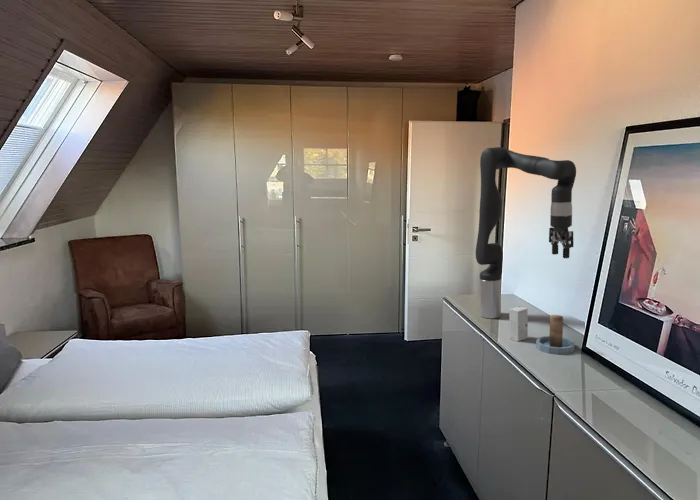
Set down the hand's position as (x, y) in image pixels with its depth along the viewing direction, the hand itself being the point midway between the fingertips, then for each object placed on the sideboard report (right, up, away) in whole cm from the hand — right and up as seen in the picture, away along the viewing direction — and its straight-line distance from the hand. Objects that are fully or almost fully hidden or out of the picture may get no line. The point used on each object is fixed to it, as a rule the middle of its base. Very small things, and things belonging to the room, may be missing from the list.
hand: (560, 256), depth 188 cm
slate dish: (-4, -34, -6) cm, 35 cm away
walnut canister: (-4, -33, -6) cm, 34 cm away
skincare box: (-14, -33, +5) cm, 36 cm away
